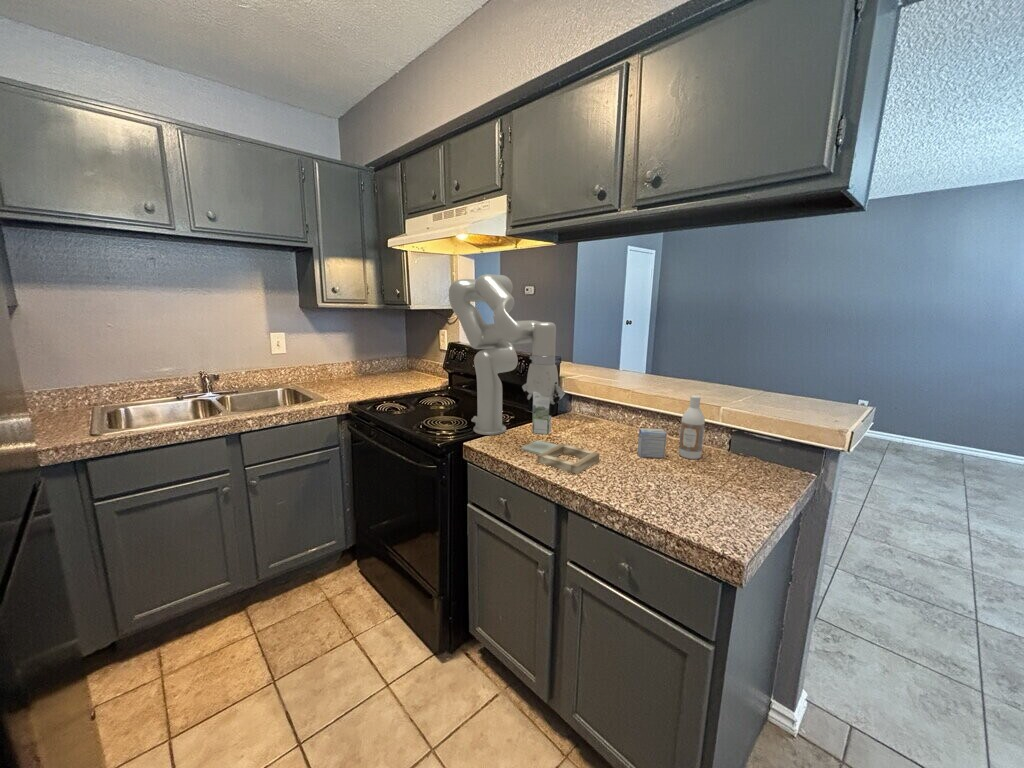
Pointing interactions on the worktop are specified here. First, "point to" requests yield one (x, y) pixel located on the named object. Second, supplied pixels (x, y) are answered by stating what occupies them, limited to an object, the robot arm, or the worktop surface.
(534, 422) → the syrup box
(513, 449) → the worktop surface
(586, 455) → the beige flat square frame
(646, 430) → the medicine box
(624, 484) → the worktop surface
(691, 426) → the bath foam
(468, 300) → the robot arm
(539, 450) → the sage tile
